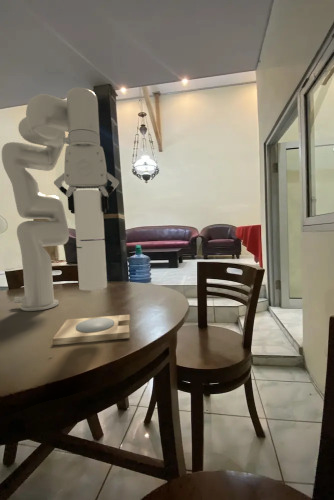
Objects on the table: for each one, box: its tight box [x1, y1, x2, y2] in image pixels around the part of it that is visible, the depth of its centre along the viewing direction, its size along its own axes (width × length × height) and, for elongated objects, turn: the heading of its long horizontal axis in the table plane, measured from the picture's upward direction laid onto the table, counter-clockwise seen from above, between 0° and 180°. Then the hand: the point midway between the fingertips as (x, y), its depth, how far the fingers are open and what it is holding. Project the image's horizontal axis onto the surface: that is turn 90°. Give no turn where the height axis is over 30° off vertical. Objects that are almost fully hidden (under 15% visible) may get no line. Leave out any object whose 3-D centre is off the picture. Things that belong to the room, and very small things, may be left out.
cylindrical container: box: [73, 189, 108, 291], centre depth 68 cm, size 7×7×25 cm
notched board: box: [52, 314, 131, 346], centre depth 70 cm, size 18×14×2 cm
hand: (88, 212), depth 68 cm, fingers closed on cylindrical container, 7 cm apart
